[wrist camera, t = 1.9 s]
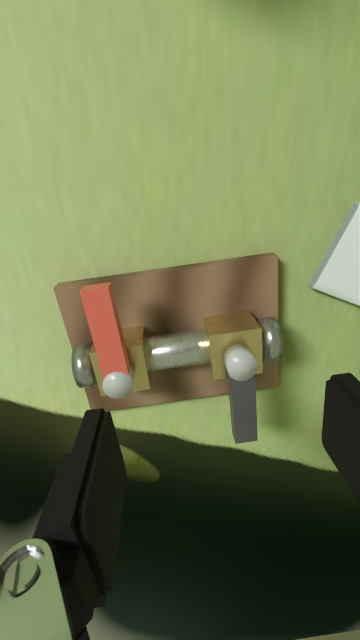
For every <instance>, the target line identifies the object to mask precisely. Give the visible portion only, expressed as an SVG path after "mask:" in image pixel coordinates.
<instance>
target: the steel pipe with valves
mask: <svg viewBox="0 0 360 640" xmlns="http://www.w3.org/2000/svg"><path fill="white" fill-rule="evenodd" d="M203 324H204V329H197V330H190V331H183V332H176V333H169V334H162V335H155V336H148V337H146V333H145V328H144V326H137V327H130V328H123V329H122V332H123V336H124V341H125V345H126V350H127V354H128V358H129V363H130V365H131V366H132V367H133V369H134V372H135V376H134V384H133V390H132V392H134V391H141V390H148V389H151V371H156V370H163V369H170V368H177V367H184V366H191V365H198V364H205V363H209V366H210V369H211V373H212V376H213V380H218V379H225V378H228V373H227V368H226V365H225V362H224V354H225V352H226V350H227V349H228V348H229V347H231V346H233V345H236V344H242V345H245V346H247V347H248V348H249V349H250V350H251V352H252V354H253V356H254V358H255V359H256V361H257V364H258V370H257V372H256V374H259V373H263V362H267V361H274V360H280V359H281V358H282V355H283V339H282V334H281V330H280V327H279V324H278V322H277V320H276V319H275V317H273V316H270V317H263V318H256V319H255V318H254V317H253V315H252V314H251V313H250V311H242V312H235V313H228V314H221V315H214V316H207V317H203ZM72 371H73V376H74V379H75V382H76V384H77V385H78V387H80V388H86V387H93V386H98V387H99V390H100V394H101V396H107V395H106V394H105V392H104V391H103V388H102V383H103V380H104V379H103V376H102V372H101V368H100V365H99V361H98V357H97V354H96V350H95V346H94V343H93V342H89V343H82V344H76V345H75V346H74V348H73V351H72Z"/></svg>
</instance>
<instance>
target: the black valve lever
mask: <svg viewBox="0 0 360 640" xmlns="http://www.w3.org/2000/svg"><path fill="white" fill-rule="evenodd" d="M224 362H225V365H226V368H227V373H228V386H229V399H230V411H231V424H232V433H233V437H234V440H235V444H237V443H244V442H251V441H257V414H256V387H255V374H256V372H257V370H258V364H257V361H256V359H255V358H254V356H253V354H252V352H251V350H250V349H249V348H248V347H247V346H245V345H242V344H236V345H233V346H231V347H229V348H228V349H227V350H226V352H225V354H224Z"/></svg>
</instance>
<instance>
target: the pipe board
mask: <svg viewBox="0 0 360 640" xmlns="http://www.w3.org/2000/svg"><path fill="white" fill-rule="evenodd" d="M107 282H111V284H112V288H113V293H114V297H115V301H116V306H117V310H118V315H119V319H120V323H121V328H122V329H123V328H130V327H137V326H144V328H145V333H146V337H148V336H155V335H162V334H169V333H176V332H183V331H190V330H197V329H204V324H203V317H207V316H214V315H221V314H228V313H235V312H242V311H250V313H251V314H252V315H253V317H254V318H255V319H256V318H263V317H270V316H273V317H275V319H276V320H277V322H278V256H277V255H276V254H274V253H266V254H259V255H252V256H245V257H238V258H231V259H224V260H217V261H210V262H203V263H196V264H189V265H182V266H175V267H168V268H161V269H154V270H147V271H140V272H133V273H126V274H119V275H112V276H105V277H98V278H91V279H84V280H77V281H70V282H63V283H58V284H57V285H56V286H55V287H54V291H55V295H56V298H57V301H58V304H59V308H60V311H61V314H62V317H63V321H64V324H65V327H66V330H67V333H68V337H69V340H70V343H71V346H72V350H73V348H74V346H75V345H76V344H82V343H89V342H93V339H92V336H91V332H90V328H89V325H88V321H87V317H86V314H85V310H84V306H83V303H82V299H81V296H80V290H81V289H82V288H83V287H84V286H86V285H93V284H100V283H107ZM276 386H278V360H274V361H267V362H263V373H259V374H255V387H256V389H262V388H269V387H276ZM85 392H86V395H87V398H88V401H89V405H90V408H91V409H98V408H104V410H105V411H110V410H117V409H124V408H131V407H138V406H144V405H151V404H158V403H165V402H172V401H179V400H186V399H193V398H200V397H207V396H214V395H221V394H228V393H229V386H228V378H225V379H218V380H213V376H212V373H211V369H210V366H209V363H205V364H198V365H191V366H184V367H177V368H170V369H163V370H156V371H151V389H148V390H141V391H134V392H131V393H130V395H128V396H127V397H125V398H121V399H115V398H111V397H109V396H108V395H107V396H101V394H100V390H99V387H98V386H93V387H86V388H85Z"/></svg>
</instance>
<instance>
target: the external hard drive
mask: <svg viewBox="0 0 360 640" xmlns="http://www.w3.org/2000/svg"><path fill="white" fill-rule="evenodd" d="M308 286H310V287H311V288H313V289H316V290H318V291H321V292H324V293H326V294H329V295H331V296H334V297H337V298H339V299H342V300H345V301H347V302H350V303H353V304H355V305H358V306H360V203H359V202H354V203H353V205H352V207H351V208H350V210H349V212H348V214H347V216H346V218H345V219H344V221H343V223H342V225H341V227H340V228H339V230H338V232H337V234H336V236H335V238H334V239H333V241H332V243H331V245H330V247H329V248H328V250H327V252H326V254H325V256H324V258H323V259H322V261H321V263H320V265H319V267H318V268H317V270H316V272H315V274H314V276H313V277H312V279H311V281H310V283H309V285H308Z"/></svg>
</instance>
